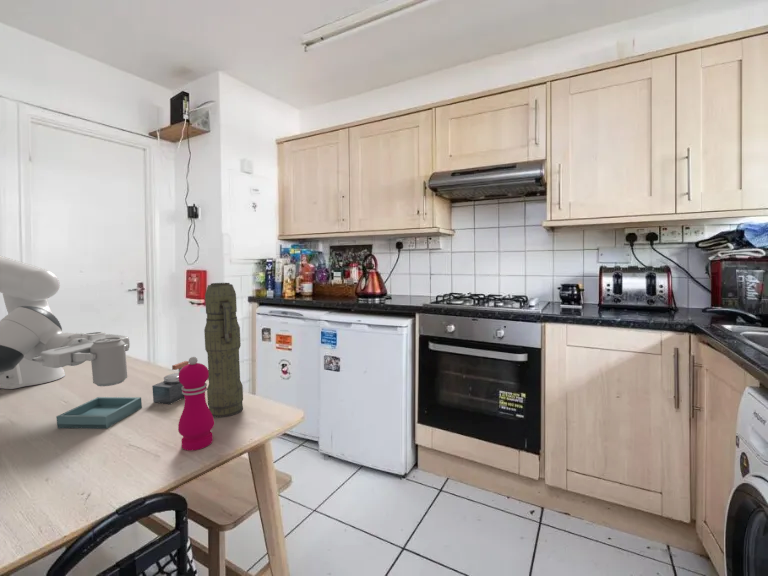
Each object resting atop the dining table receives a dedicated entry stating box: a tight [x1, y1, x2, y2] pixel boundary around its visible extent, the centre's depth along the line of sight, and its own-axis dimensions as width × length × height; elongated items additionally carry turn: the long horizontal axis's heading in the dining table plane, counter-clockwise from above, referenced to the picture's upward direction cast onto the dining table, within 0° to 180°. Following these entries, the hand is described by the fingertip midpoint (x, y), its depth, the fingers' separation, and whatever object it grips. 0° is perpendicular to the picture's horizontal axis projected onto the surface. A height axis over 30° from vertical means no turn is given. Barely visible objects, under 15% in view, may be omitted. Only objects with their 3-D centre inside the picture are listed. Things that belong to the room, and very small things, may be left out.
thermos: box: [203, 282, 244, 418], centre depth 100 cm, size 9×12×35 cm
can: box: [90, 337, 128, 387], centre depth 99 cm, size 8×8×12 cm
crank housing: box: [151, 360, 189, 405], centre depth 112 cm, size 7×12×10 cm, turn 165°
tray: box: [56, 396, 143, 430], centre depth 98 cm, size 13×13×3 cm
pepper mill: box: [177, 356, 215, 452], centre depth 83 cm, size 7×7×20 cm
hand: (110, 352), depth 99 cm, fingers closed on can, 7 cm apart
